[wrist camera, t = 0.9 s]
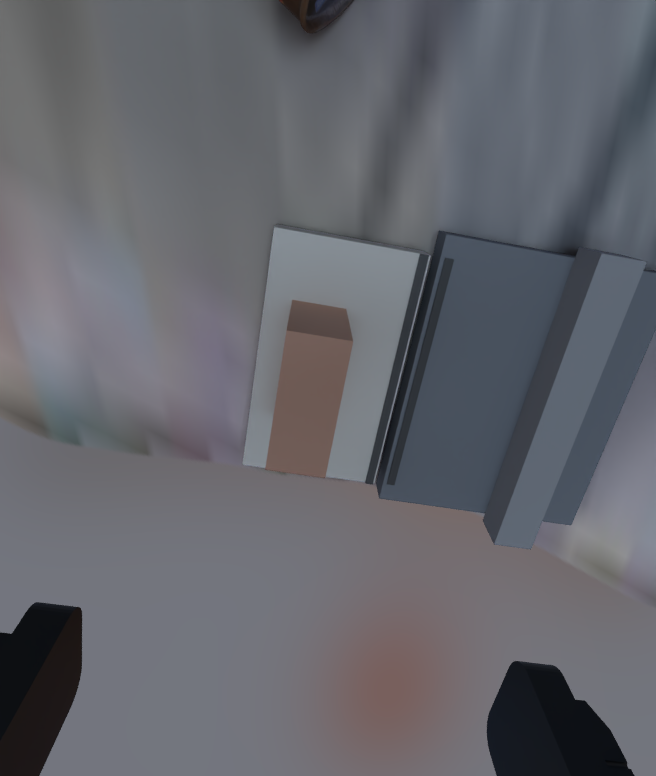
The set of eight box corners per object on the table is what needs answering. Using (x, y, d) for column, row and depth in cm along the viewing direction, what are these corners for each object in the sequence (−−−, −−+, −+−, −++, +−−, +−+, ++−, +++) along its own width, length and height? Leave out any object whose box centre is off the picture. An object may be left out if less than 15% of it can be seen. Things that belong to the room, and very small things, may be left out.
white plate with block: (424, 251, 24) (459, 276, 18) (371, 468, 29) (385, 546, 23) (276, 223, 24) (263, 240, 18) (245, 450, 28) (226, 525, 22)
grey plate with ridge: (662, 261, 25) (713, 274, 22) (556, 516, 31) (584, 556, 27) (441, 219, 24) (461, 226, 21) (374, 490, 30) (381, 529, 26)
